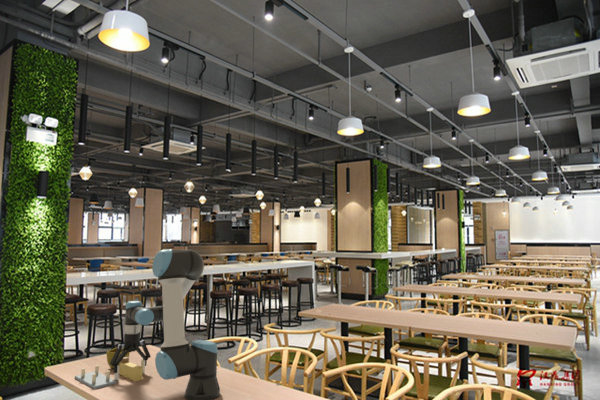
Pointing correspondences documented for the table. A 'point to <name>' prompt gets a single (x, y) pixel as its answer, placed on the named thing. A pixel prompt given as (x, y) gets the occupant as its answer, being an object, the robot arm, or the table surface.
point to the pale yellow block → (130, 370)
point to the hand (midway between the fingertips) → (129, 376)
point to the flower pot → (111, 354)
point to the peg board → (98, 380)
